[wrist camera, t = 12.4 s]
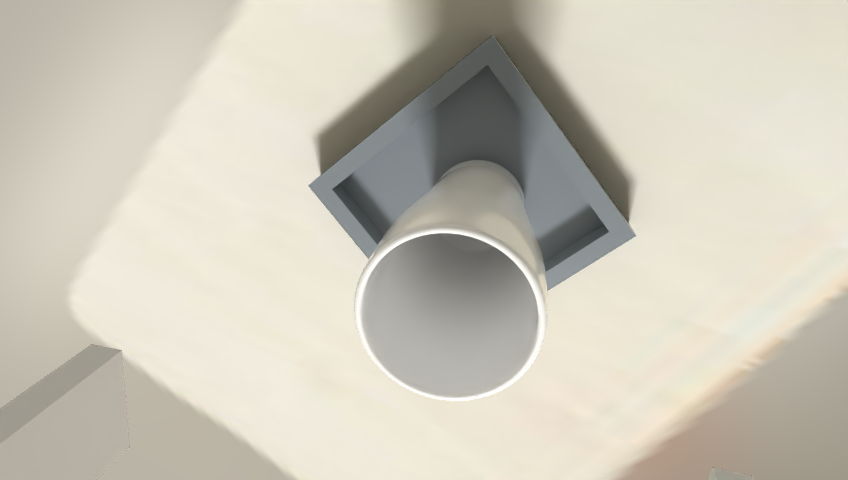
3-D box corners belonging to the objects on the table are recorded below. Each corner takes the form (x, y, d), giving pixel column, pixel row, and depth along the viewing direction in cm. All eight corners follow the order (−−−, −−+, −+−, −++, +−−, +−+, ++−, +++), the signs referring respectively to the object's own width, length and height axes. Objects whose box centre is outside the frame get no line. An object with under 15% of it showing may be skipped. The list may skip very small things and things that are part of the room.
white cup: (397, 191, 34) (311, 295, 20) (490, 119, 32) (466, 181, 18) (467, 278, 35) (431, 435, 21) (561, 215, 33) (591, 343, 19)
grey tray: (493, 35, 31) (491, 35, 29) (629, 223, 33) (636, 236, 31) (320, 177, 35) (308, 185, 33) (450, 336, 37) (446, 353, 35)
